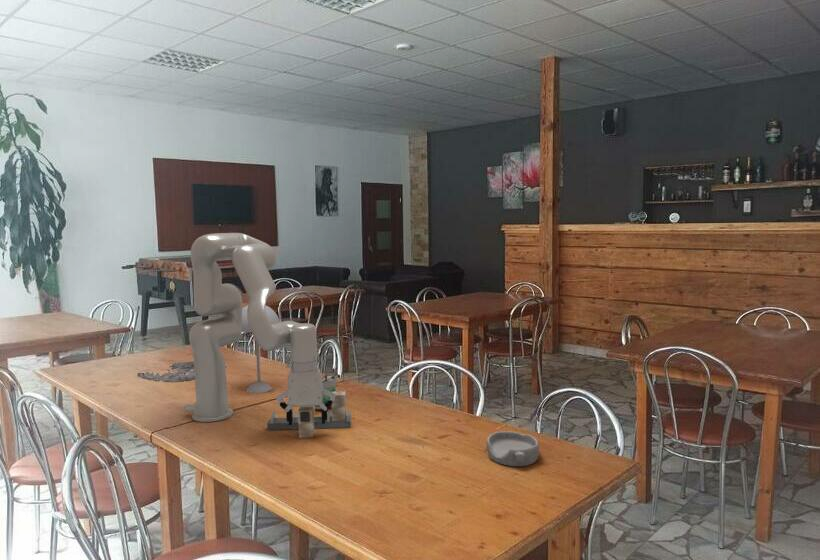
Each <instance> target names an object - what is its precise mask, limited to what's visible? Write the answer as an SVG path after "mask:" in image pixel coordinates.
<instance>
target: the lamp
mask: <svg viewBox="0 0 820 560" xmlns="http://www.w3.org/2000/svg"><path fill="white" fill-rule="evenodd" d="M247 310H248V304H247V305H246V306H243V307H242V333H252V332H251V330H250V328H249V325H248V319H247ZM265 312H266V315H267V318H268V320H269V322H270V324H275V323H279V322H281V321H280V318H279V316H278V314H277V313H276V311H274V309H273V308H271V307H270V306H268V305H266V304H265ZM255 352H256V372H257V373H256V376H257V377H256V378H257V381H255V382H252V383H251V384H250V385H249V386H248V387H247V389H246V392H247V391H248V392H247V393H249V392H250V393H249V394H262V392H264V393H267V391H268V392H270V391H272V390H273V387H272V386H271V385H270V384H269V383H267V382H265V381H261V364H260V356H261V355H263V353H262V348H261V347H260V346H259V345H258V343H257V342H256V341H255ZM271 389H272V390H271ZM269 390H270V391H269Z"/></svg>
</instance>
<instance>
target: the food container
mask: <svg viewBox="0 0 820 560" xmlns="http://www.w3.org/2000/svg"><path fill="white" fill-rule="evenodd" d="M322 382H323V388H324V389H326V390H328V391H330V392H336V386H337V385H338V379H337V377H336V375H334V374H331V373H324V377H322ZM323 400H324V401H325V402H326V403H327V402H328V401H329V396H327V395H324V399H323ZM329 410H332V405H331V406H330V407H329V408H328V409H327V411H329ZM321 411H322V408H321V407H320V406H319V405H318V406H314V412H321Z"/></svg>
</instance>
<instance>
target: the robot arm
mask: <svg viewBox="0 0 820 560" xmlns="http://www.w3.org/2000/svg"><path fill="white" fill-rule="evenodd" d="M190 259H191V265H192V274H193V306H194V311H195V312H196V313H197V315H199V316H202V317H210V316H211V317H212V316H217V315H218V317H214V318H209V319H204V320H201V321H198V322H196V323H194V324H193V325H192V326H191V328H190V330H189V333H188V335H189V337H188V339H189V343H190V346H191V350H192V356H193V361H194V369H195V380H194V383H195V397H196V399H195V400H196V402H194V403H184V405H183V410H184V411H185V412H193V413H192V415H191V418H192V420H193V421H195V422H201V423H211V422H219V421H222V420H226V419H228V418H230V417H232V415H233V414H234V410H233V409H232V408H231V407H229V406H228V388H227V386H228V385H227V368H226V367H227V365H226V361H225V357H224V355H223V353H222V352H221V350H220V348H221V347H224V346H230V345H232V344H235V343H237V342H238V341H239V340H240V339H241V336H242V333H243V332H242V308H243V298H242V295H241V292H240V290H239V289H238V288H237V286H235V285H234V284H232V283H222V282H223V281H222V280H223V277H222V274H223V273H222V270H221V268H220V266H219V264H218V262H219V261H221V262H222V261H232V264H233V267H234V269H235V270H236V273H237V275H238V277H239V279H240V281H241V283H242V286H243V288H244V290H245V292H246V293H247V296H248V303H247V305H248V310H247V319H248V325H249V328H250V330H251V332H250V333H251V334H252V336H253V339H254V340H255V343H256V342H257V343H258V345H259V348H260V347H261V350H263V351H266V352H274V351H276V350H277V351H278V350H280V349H283V348H287V347H288V348H289V347H290V362H286V368H289V369H290V371H289V372H288V377H287V390H285V391H284V392H282V393H280V394H278V395H277V396H275V399H276V401H277V403H278V404H279V406H280V408H282V409H283V410H284V412H285V414H286V415H285V418H287V422H289V425H292V422H293V415H292V413H293V409H292V407H304V406H314V407H315V406H318V405H319V406H320V407H321V408H322V411H320V412H321V417H322V424H325V420H327V414H328V410H327V409H328V408H329V407H330V406H331V405H332V403H333V401H334V399H335V396H336V394H335V393H333V392H330V391H328V390H326V389H324V388H323V382H322V378H323V377H322V373H321V372H322V371H321V369H320V368H319V367H318V366H319V365H318V364H319V363H318V361H319V360H318V346H317V345H318V343H317V340H318V339H317V327H316V326H315V325H314V323H313V324H312V323H307V322H304V323H300V322H296V321H293V320H284V321H280V322H279V323H275V324H270V322H269V320H268V318H267V315H266V312H265V305H266V304H267V300H268V298H269V297H270V296H272V294H274V293H275V291H276V288H277V285H276V283H275V281H274V280H273V278H272V275H271V273H270V272H269V270H270V269H273V267H274V266H275V265H276V262H277V255H276V252H275V250H274V248H273V247H272V246H271V245H270V244H268V243H267V242H264V241H262V240H260V239H257V238H255V237H252V236H250V235H248V234H245V233H241V232H221V233H220V232H215V233H208V234H204V235H201V236H199V237H197V238H196V239H195V240H194V242H193V243H192V245H191V248H190ZM324 395H327V396H329V397H330V399H329V401H328V402H327V403H326V402H325V401H324V400H323V399H324ZM286 397H287V403H286V402H285V401H284V400H283V399H284V398H286Z"/></svg>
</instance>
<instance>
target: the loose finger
mask: <svg viewBox="0 0 820 560" xmlns="http://www.w3.org/2000/svg"><path fill="white" fill-rule="evenodd" d="M314 412H315V406H299V408H298V410H297V417H298V423H299V429H298V438H313V437H314V434H315V429H314V417H315V413H314Z"/></svg>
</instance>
